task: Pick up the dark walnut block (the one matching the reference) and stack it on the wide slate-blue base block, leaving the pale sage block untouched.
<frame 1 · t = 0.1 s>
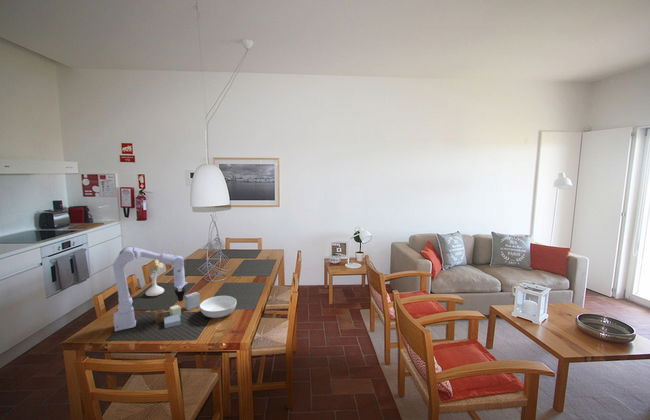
hand: (180, 298, 177), 10 cm above the table, fingers open, 7 cm apart
serving bowl: (219, 313, 179), on the table
medicine box: (192, 307, 187), on the table
walnut block: (160, 320, 171), on the table
base block: (172, 323, 168), on the table
sage block: (175, 315, 176), on the table
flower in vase: (156, 294, 206), on the table
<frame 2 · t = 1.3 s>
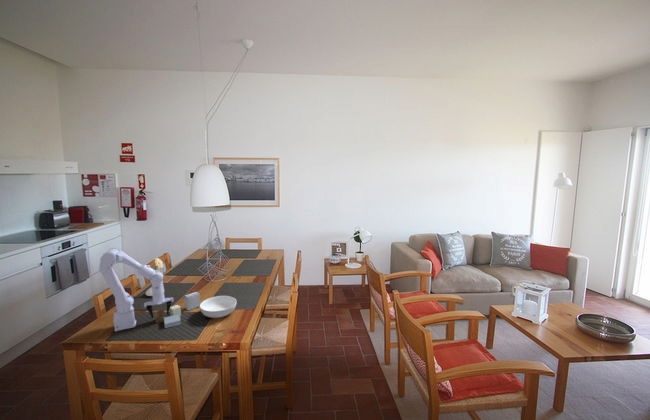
hand: (160, 315, 170), 3 cm above the table, fingers open, 7 cm apart
nothing on the table moved.
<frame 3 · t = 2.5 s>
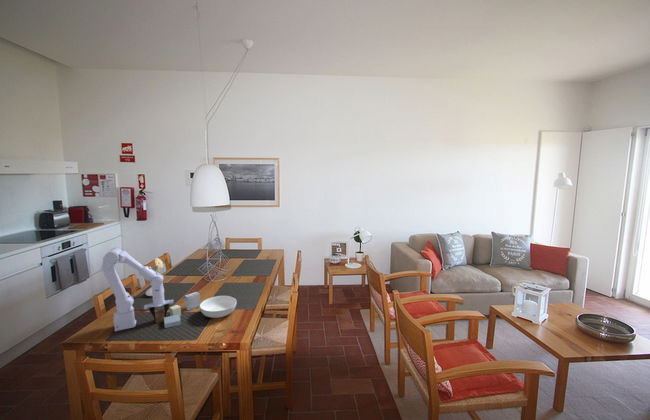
hand: (160, 317, 170), 2 cm above the table, fingers closed on walnut block, 4 cm apart
walnut block: (160, 320, 171), on the table, touching gripper
everything else where it was.
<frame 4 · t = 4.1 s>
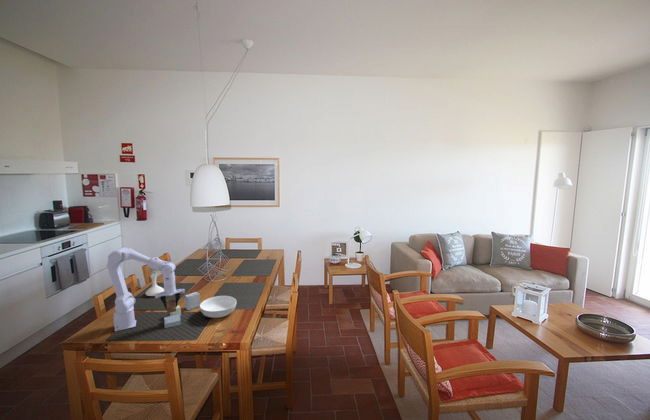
hand: (171, 307, 167), 9 cm above the table, fingers closed on walnut block, 4 cm apart
walnut block: (171, 310, 167), point 8 cm above the table, touching gripper
everything else where it was.
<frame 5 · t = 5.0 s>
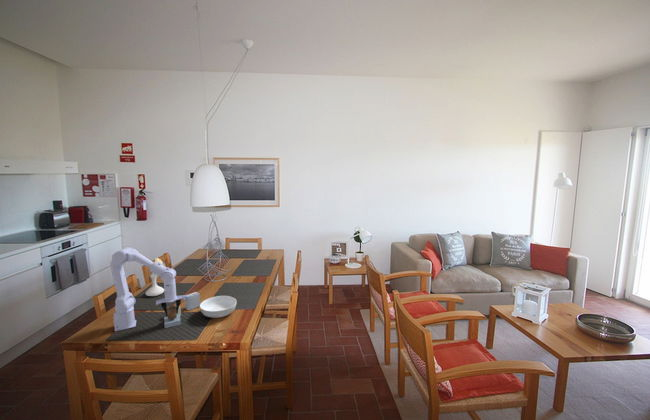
hand: (171, 313, 167), 6 cm above the table, fingers closed on walnut block, 4 cm apart
walnut block: (172, 316, 167), point 4 cm above the table, touching gripper
everything else where it was.
when the fingers open (6 cm above the table, at t = 5.7 s): walnut block drops 1 cm, point 3 cm above the table.
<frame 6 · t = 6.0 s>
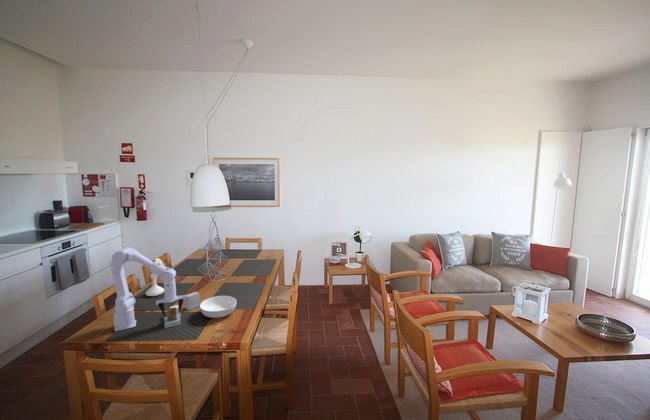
hand: (171, 313, 167), 6 cm above the table, fingers open, 7 cm apart
walnut block: (172, 319, 167), point 3 cm above the table
everything else where it was.
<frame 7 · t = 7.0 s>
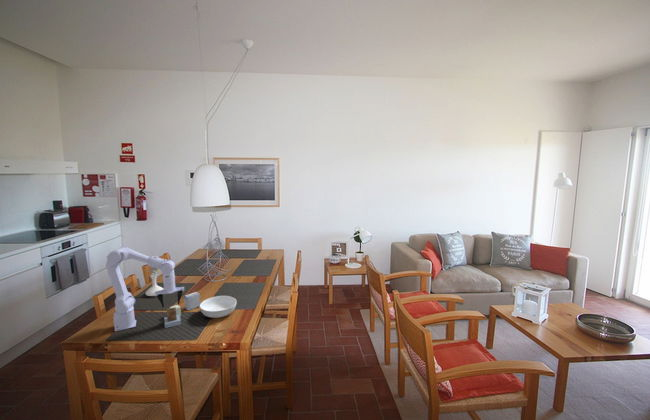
hand: (170, 305, 167), 10 cm above the table, fingers open, 7 cm apart
walnut block: (172, 318, 168), point 2 cm above the table, touching base block
base block: (172, 323, 168), on the table, touching walnut block
everything else where it was.
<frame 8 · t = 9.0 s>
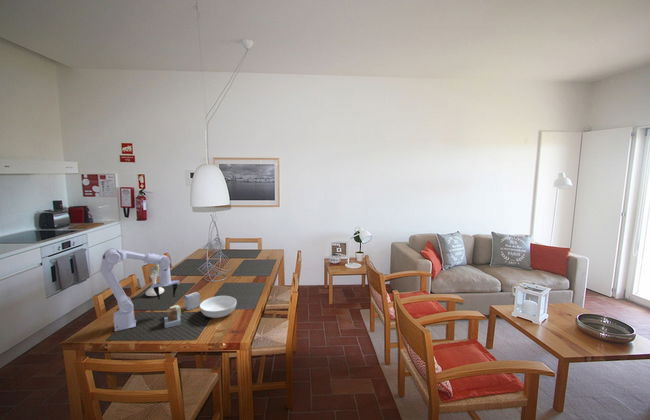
hand: (166, 297, 177), 10 cm above the table, fingers open, 7 cm apart
walnut block: (172, 318, 167), point 3 cm above the table
base block: (172, 323, 168), on the table
everything else where it was.
at the end: walnut block 0.2 cm off-centre on the base block, point 3.0 cm above the base block's base; walnut block tilted 0°; walnut block touching nothing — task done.
